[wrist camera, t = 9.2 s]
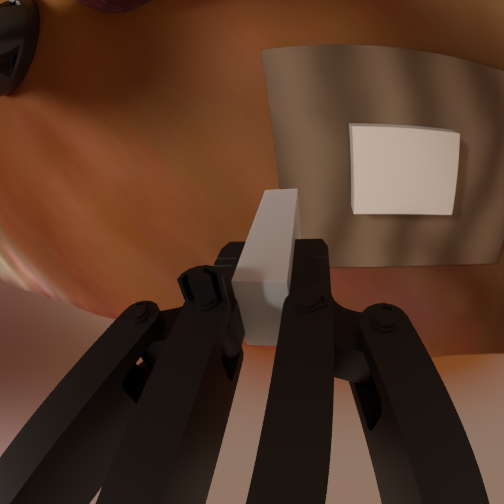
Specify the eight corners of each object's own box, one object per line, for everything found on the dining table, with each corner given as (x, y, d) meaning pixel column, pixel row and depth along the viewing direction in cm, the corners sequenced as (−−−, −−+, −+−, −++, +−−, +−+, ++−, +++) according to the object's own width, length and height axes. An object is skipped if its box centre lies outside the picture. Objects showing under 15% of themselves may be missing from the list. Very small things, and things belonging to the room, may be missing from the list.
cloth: (288, 260, 29) (287, 267, 28) (263, 51, 19) (261, 49, 18) (492, 257, 23) (496, 263, 22) (513, 76, 13) (520, 77, 12)
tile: (353, 214, 22) (451, 215, 19) (351, 126, 18) (459, 133, 16) (350, 204, 23) (443, 205, 21) (348, 123, 20) (449, 129, 17)
